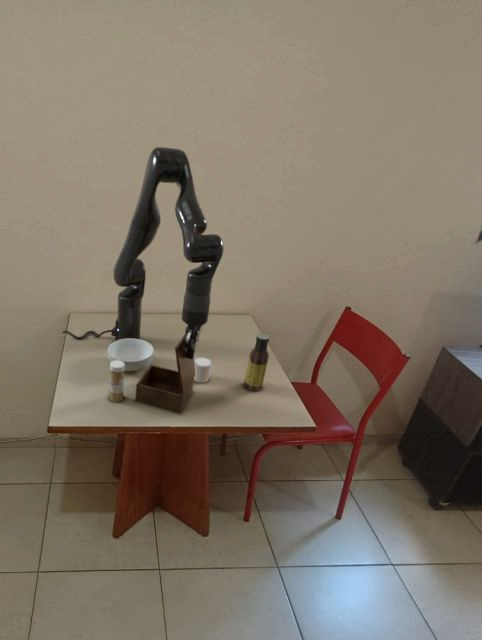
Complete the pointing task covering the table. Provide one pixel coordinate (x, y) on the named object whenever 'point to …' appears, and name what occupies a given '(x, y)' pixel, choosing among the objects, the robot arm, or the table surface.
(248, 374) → the sauce bottle
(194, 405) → the table surface
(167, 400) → the chest
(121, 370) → the sprinkles bottle
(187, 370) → the chest lid
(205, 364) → the shot glass
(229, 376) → the table surface
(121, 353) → the cereal bowl
